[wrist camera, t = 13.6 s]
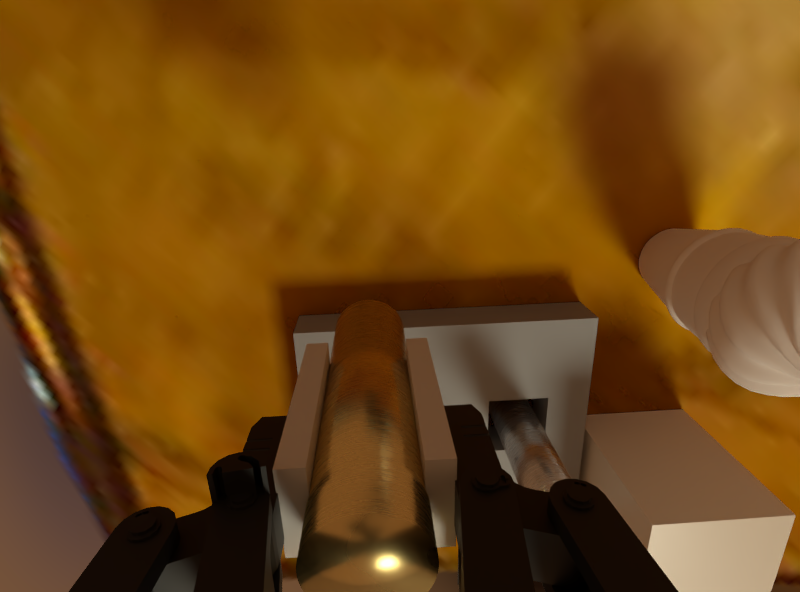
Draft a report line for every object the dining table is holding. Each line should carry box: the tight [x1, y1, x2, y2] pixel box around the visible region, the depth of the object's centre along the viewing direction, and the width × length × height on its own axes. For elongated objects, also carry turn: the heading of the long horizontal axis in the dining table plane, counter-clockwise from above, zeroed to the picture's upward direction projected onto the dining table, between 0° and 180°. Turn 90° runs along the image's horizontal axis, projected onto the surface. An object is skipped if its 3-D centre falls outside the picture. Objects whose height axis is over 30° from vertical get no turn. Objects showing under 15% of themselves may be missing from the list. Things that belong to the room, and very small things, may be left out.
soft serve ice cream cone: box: [639, 228, 800, 397], centre depth 27 cm, size 8×8×16 cm
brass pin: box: [296, 300, 439, 592], centre depth 16 cm, size 3×3×12 cm
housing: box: [579, 409, 796, 592], centre depth 35 cm, size 9×9×11 cm
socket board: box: [293, 302, 598, 484], centre depth 36 cm, size 16×20×3 cm
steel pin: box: [489, 399, 571, 492], centre depth 32 cm, size 3×3×12 cm
